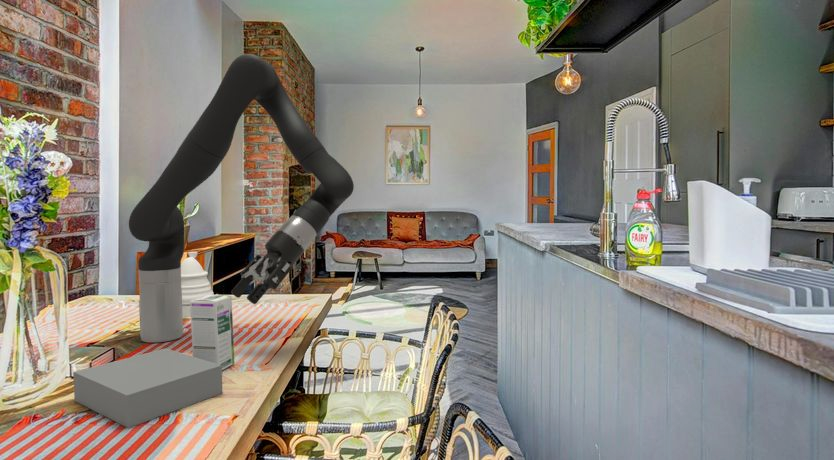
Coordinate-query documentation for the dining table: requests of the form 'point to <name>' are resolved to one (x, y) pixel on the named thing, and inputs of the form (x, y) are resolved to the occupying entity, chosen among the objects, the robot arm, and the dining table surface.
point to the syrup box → (213, 329)
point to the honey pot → (193, 282)
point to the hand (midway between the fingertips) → (242, 298)
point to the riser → (147, 385)
